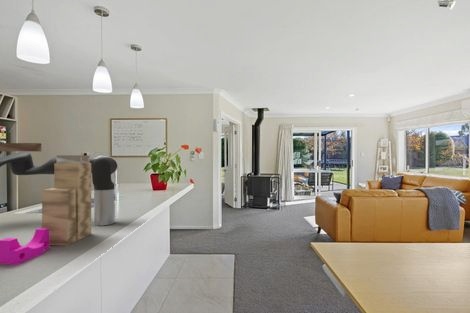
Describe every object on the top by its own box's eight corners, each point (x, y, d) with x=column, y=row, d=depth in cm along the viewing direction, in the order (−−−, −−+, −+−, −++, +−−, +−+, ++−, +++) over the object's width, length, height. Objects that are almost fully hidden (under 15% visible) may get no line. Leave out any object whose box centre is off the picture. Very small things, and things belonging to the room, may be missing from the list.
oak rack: (69, 233, 121) (69, 155, 121) (91, 233, 120) (91, 155, 120) (42, 244, 105) (41, 155, 105) (67, 245, 105) (66, 155, 104)
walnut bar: (-14, 151, 112) (-14, 143, 112) (41, 151, 110) (41, 143, 110) (-22, 151, 109) (-22, 143, 109) (34, 151, 107) (34, 143, 107)
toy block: (16, 265, 86) (16, 241, 86) (-1, 263, 87) (-1, 240, 87) (55, 249, 101) (55, 228, 101) (40, 248, 102) (40, 227, 102)
